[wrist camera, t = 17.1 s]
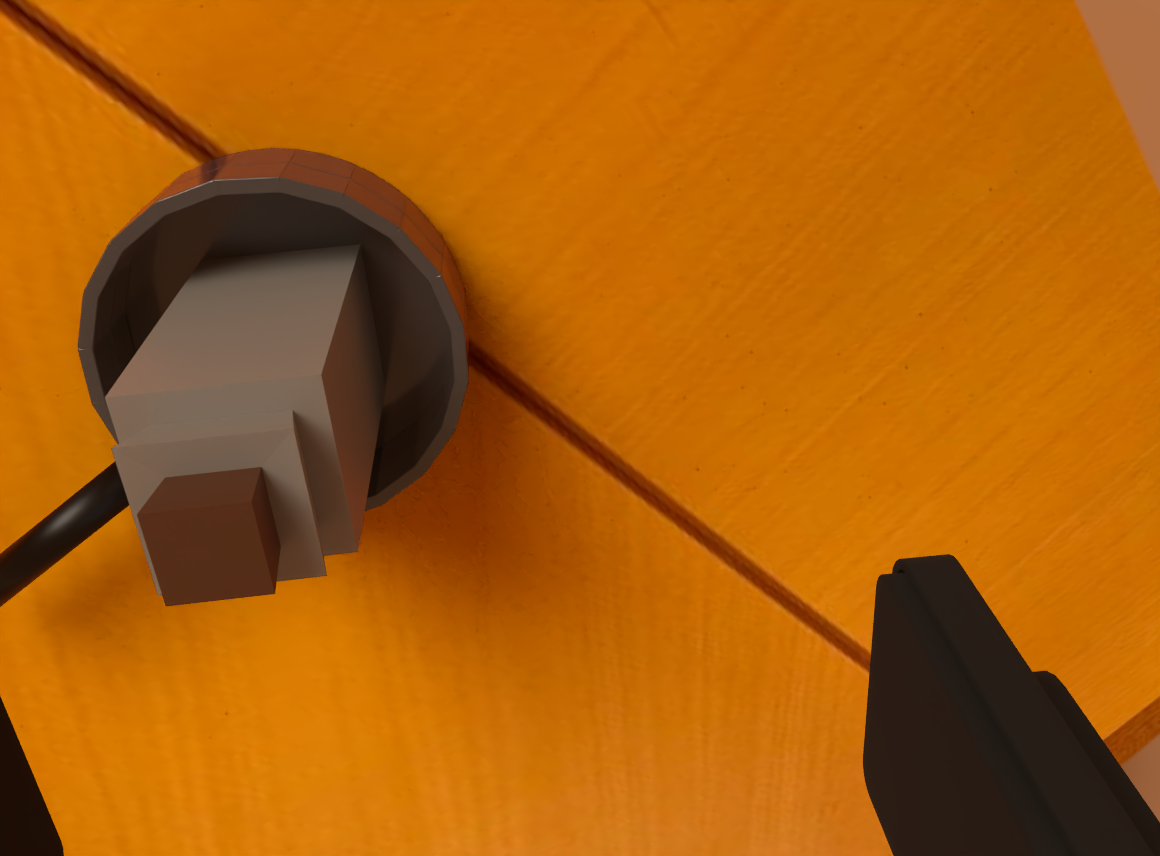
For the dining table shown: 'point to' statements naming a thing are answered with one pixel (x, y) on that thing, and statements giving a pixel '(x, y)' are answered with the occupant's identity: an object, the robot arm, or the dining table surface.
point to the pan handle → (61, 532)
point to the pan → (290, 223)
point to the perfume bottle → (252, 423)
